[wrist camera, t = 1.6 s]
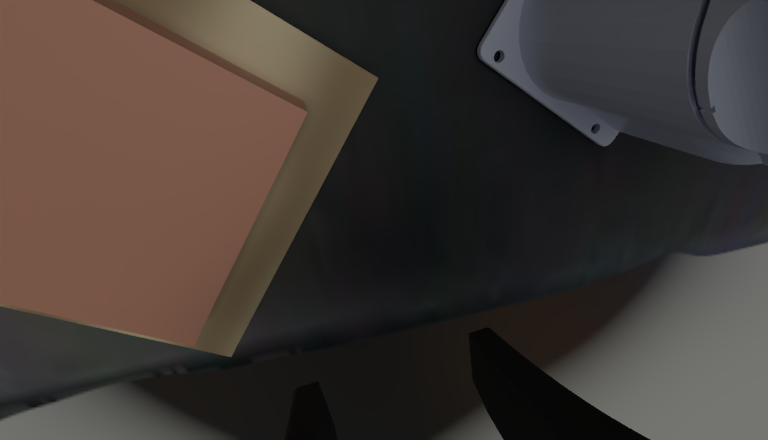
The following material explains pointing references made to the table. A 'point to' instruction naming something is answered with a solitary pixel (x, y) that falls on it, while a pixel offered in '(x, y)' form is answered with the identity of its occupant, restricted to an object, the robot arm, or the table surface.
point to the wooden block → (305, 157)
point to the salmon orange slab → (127, 166)
